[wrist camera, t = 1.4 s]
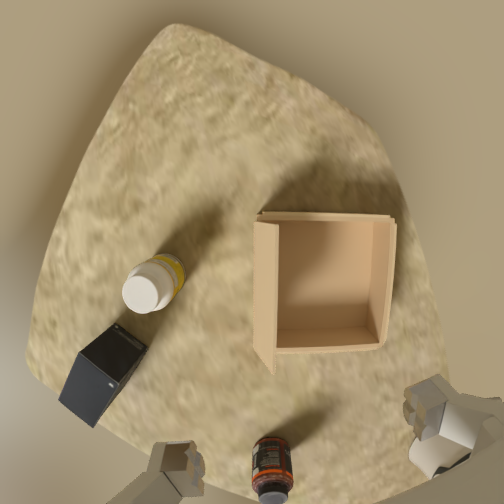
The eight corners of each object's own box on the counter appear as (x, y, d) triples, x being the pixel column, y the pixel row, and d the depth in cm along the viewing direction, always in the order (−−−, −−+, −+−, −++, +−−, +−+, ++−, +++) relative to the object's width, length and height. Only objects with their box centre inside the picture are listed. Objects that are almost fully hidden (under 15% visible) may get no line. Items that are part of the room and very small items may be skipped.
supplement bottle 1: (156, 299, 39) (128, 326, 30) (140, 261, 39) (107, 277, 29) (193, 286, 39) (173, 311, 29) (177, 246, 38) (151, 259, 29)
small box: (113, 319, 40) (76, 349, 30) (150, 347, 40) (122, 385, 30) (88, 366, 41) (55, 400, 31) (121, 391, 42) (94, 430, 31)
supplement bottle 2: (245, 444, 43) (242, 496, 31) (277, 430, 42) (280, 482, 31) (265, 463, 43) (266, 513, 32) (296, 450, 43) (302, 501, 31)
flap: (278, 224, 26) (275, 224, 26) (275, 373, 28) (272, 374, 27) (256, 221, 31) (253, 221, 31) (256, 348, 33) (253, 348, 33)
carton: (377, 214, 37) (397, 215, 31) (369, 330, 39) (384, 348, 33) (257, 211, 37) (256, 212, 31) (256, 333, 40) (256, 354, 34)
